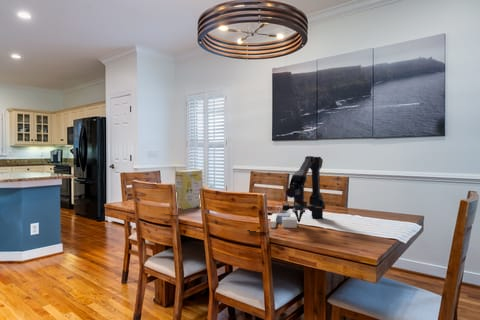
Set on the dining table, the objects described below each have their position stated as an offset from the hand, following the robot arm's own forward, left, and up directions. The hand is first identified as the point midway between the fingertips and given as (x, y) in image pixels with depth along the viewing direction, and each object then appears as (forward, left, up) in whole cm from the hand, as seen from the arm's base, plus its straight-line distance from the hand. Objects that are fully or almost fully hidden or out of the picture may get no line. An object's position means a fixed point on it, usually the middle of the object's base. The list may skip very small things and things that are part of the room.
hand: (298, 222), depth 181 cm
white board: (+15, -6, -2) cm, 16 cm away
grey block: (+6, -1, -2) cm, 6 cm away
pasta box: (+83, -49, -2) cm, 96 cm away
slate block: (+9, -11, -3) cm, 15 cm away
